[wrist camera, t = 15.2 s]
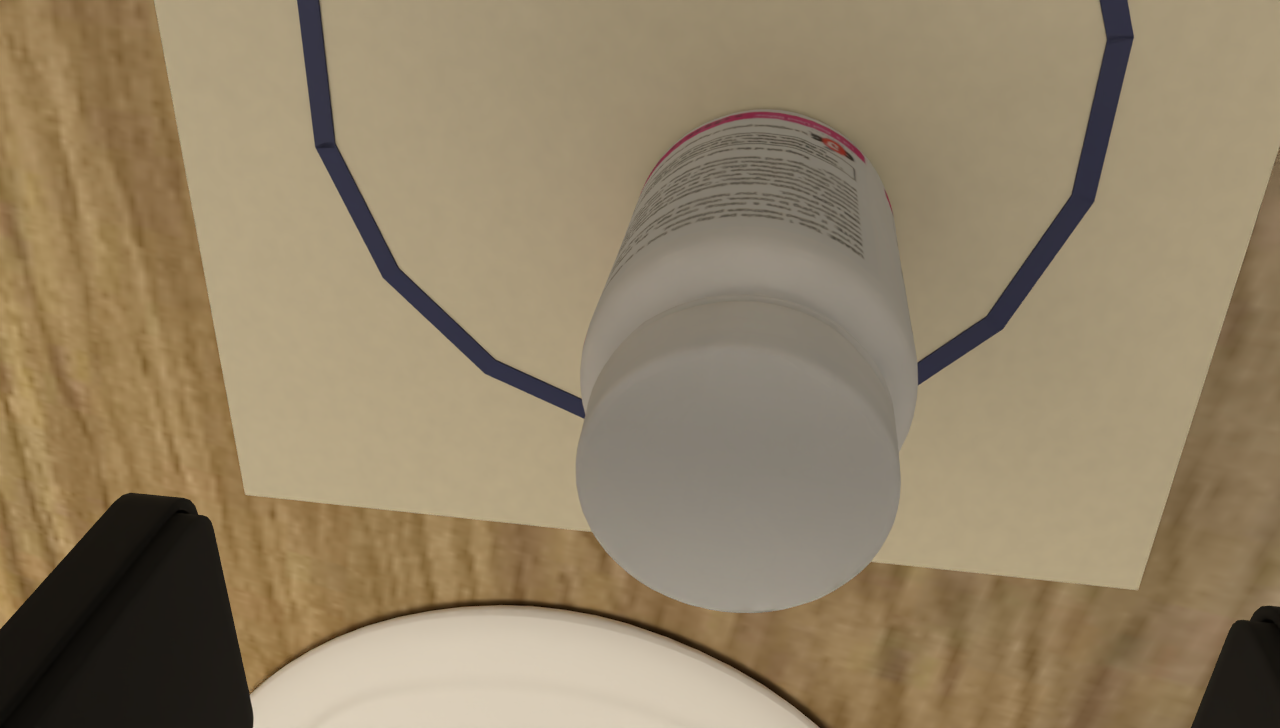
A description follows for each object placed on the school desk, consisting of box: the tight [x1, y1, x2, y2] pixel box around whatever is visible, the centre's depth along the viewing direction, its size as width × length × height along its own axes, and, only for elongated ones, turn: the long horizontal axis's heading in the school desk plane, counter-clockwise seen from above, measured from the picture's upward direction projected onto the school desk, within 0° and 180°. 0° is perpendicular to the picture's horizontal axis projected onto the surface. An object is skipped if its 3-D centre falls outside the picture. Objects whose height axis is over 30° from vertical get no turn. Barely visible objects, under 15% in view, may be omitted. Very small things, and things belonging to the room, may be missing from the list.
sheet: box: [154, 0, 1280, 590], centre depth 20 cm, size 20×20×1 cm
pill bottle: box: [576, 109, 918, 613], centre depth 17 cm, size 5×5×8 cm
